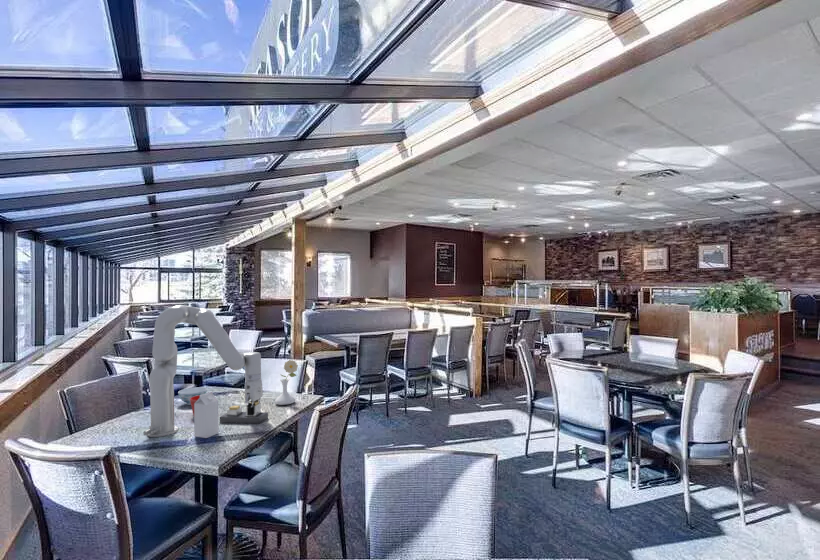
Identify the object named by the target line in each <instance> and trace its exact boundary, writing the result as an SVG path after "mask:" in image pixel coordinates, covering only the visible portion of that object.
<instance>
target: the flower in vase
mask: <svg viewBox="0 0 820 560" xmlns="http://www.w3.org/2000/svg"><path fill="white" fill-rule="evenodd" d="M283 369H284V371H285V372H286V373H288V374H287V376H286V375H285V374H284V375H282V374H280V376H281V377H284V378H282V379H280V382H281V384H282V393H281V394H279V396H278V397H276V398H275V400H274V403H275V404H276V405H280V406H285V405H290V404H293V403H295V402H296V398H295V397H294V396H293V395H292V394H290V393H289V392H288V383H289V381H290V379H289V378H288V377H290V378H295V377H297V374H296V373H295V372H296V371H298V369H299V368H298V364H297V362H296V361H295V360H293V359H292V360H291V359H289V360H287V361H286V362H284V365H283Z"/></svg>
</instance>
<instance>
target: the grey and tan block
mask: <svg viewBox="0 0 820 560" xmlns="http://www.w3.org/2000/svg"><path fill="white" fill-rule="evenodd" d="M249 403H251V402H249ZM245 406H246V411H245V412H246V417H258V416H259V415H261V412H262V406H261V402H260V403H259V401H254V402H253V407H254V415H247V405H245Z"/></svg>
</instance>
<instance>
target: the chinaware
mask: <svg viewBox="0 0 820 560" xmlns="http://www.w3.org/2000/svg"><path fill="white" fill-rule="evenodd" d="M207 391H208V388H207V387H203V386H199V387H197V386H195V387H187V388H183V389H181V390H179V391H178V392H177V394H178V396H179V399H180V400H181V401H182V402H184V403H186V404H185V405H186V406H191V402H190V398H192V397H194V396H198V395H203V394H206V393H208V392H207Z"/></svg>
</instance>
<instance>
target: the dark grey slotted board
mask: <svg viewBox="0 0 820 560" xmlns="http://www.w3.org/2000/svg"><path fill="white" fill-rule="evenodd" d="M268 419H269V412H264V411H261V415H259V416H258V417H246V411H242V414H241V415H239V416H227V412H226V413H224V414H222V415H221V416H219V423H220V424H240V425H241V424H243V425H245V424H247V425H261V424H262V423H263V422H265V421H266V420H268Z"/></svg>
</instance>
